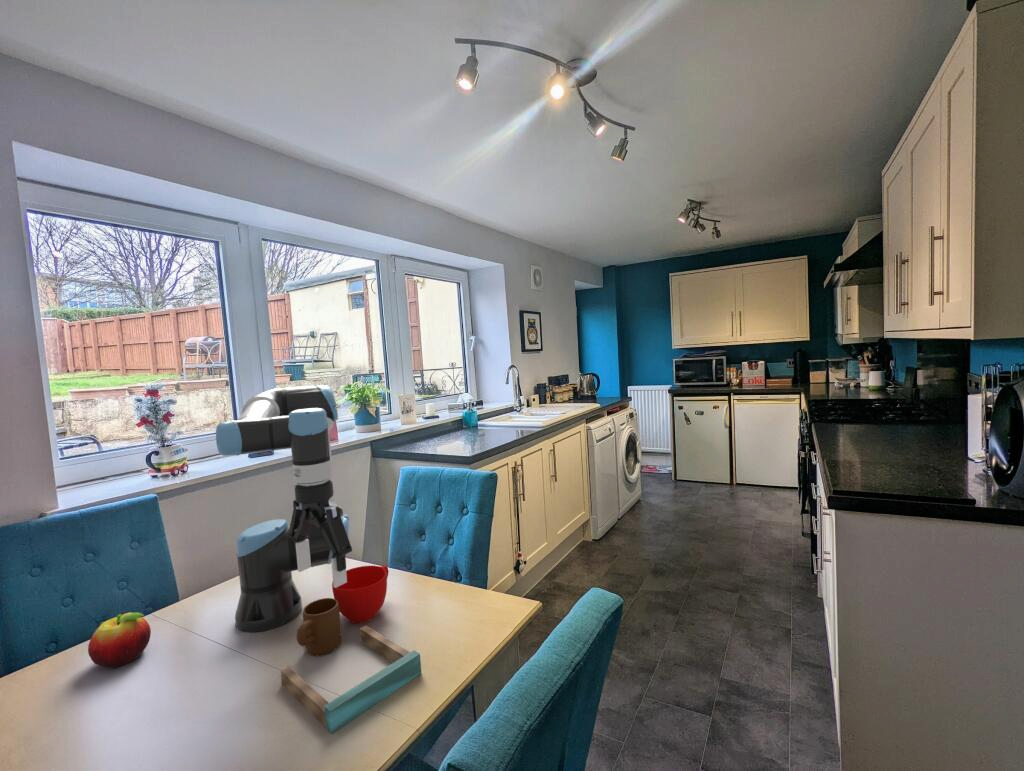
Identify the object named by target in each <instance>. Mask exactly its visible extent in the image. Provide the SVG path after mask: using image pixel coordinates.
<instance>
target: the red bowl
mask: <svg viewBox="0 0 1024 771" xmlns="http://www.w3.org/2000/svg"><path fill="white" fill-rule="evenodd" d="M346 575H347V582H346V583H344V584H342V585H340V586H338V587H336V588H335V587H334V586H333V581H332V583H331V589H332V594H333V599H336V600H337V601H338V605H339V611H340V615H342V616H343V617H344V618H345V619H346V620H348V621H349V622H350V623H351V624H363V623H368V622H370V621H371V620H373V619H374V618H375V617H376V616H377V614H378V613H379V612H380V610H381V608H382V607H383V605H384V602H385V600H386V596H387V590H388V577H389V567H387V566H386V565H381V566H379V565H362V566H357V567H353V568H350V569H346Z"/></svg>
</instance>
